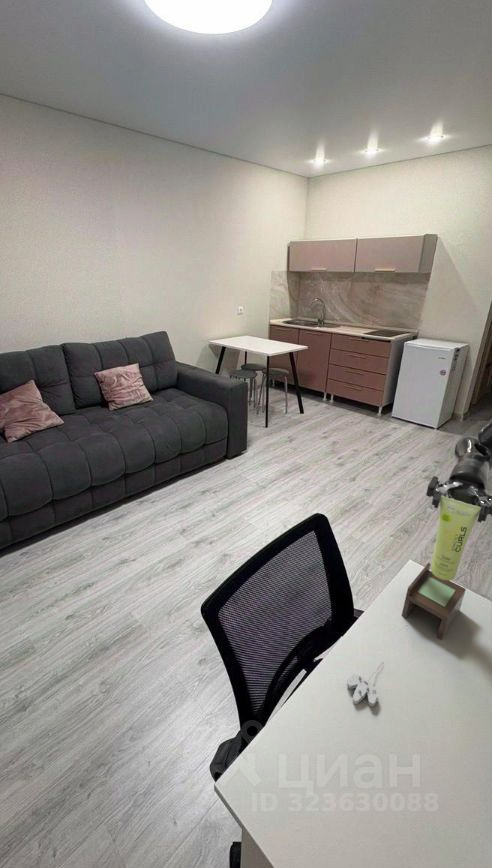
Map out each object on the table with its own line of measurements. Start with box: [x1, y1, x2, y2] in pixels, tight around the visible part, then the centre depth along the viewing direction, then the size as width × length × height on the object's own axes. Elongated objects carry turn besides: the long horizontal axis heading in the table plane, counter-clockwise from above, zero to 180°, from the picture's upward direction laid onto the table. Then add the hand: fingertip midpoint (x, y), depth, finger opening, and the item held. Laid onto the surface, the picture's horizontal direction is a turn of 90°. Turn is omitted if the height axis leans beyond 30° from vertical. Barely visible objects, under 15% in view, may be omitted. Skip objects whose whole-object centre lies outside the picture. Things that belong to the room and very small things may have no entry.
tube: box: [430, 496, 481, 581], centre depth 89 cm, size 6×5×20 cm
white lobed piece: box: [346, 661, 384, 707], centre depth 81 cm, size 6×12×3 cm, turn 151°
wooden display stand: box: [401, 562, 466, 640], centre depth 95 cm, size 12×9×9 cm
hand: (457, 511), depth 84 cm, fingers closed on tube, 7 cm apart
